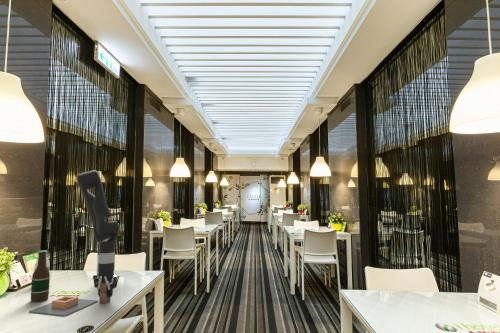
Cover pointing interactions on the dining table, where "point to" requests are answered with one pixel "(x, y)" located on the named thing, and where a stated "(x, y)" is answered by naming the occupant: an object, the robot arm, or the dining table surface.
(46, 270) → the beer bottle
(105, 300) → the walnut peg
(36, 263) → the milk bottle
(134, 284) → the dining table surface
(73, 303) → the socket holder
